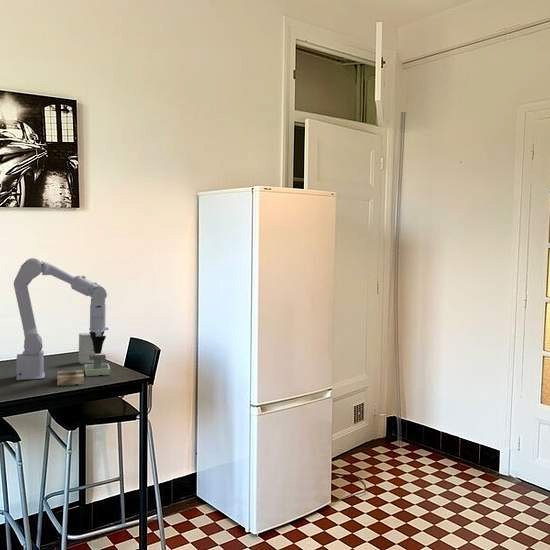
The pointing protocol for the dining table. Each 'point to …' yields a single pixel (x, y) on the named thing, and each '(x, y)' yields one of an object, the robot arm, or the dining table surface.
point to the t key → (97, 360)
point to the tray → (97, 370)
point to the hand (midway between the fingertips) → (97, 351)
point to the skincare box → (85, 348)
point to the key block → (70, 377)
